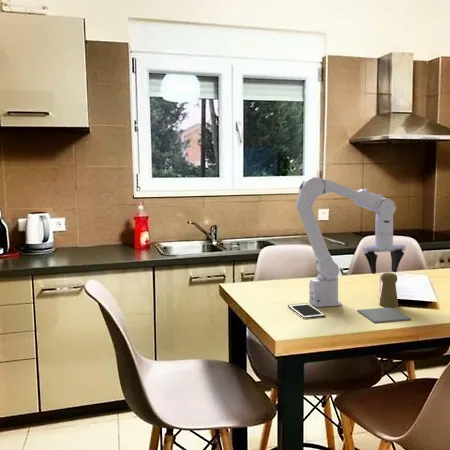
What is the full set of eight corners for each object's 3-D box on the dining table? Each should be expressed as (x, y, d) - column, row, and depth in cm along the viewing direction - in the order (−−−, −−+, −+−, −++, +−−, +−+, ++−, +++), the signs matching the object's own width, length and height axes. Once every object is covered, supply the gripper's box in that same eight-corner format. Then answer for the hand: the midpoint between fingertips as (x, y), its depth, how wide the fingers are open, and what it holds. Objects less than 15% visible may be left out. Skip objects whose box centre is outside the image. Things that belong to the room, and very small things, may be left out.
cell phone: (308, 305, 164) (308, 302, 164) (326, 318, 150) (326, 315, 150) (286, 307, 163) (286, 304, 162) (303, 320, 148) (303, 317, 148)
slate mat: (373, 323, 143) (374, 321, 143) (357, 311, 155) (357, 309, 155) (411, 319, 145) (411, 318, 144) (391, 308, 156) (391, 307, 156)
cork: (383, 301, 165) (383, 270, 163) (400, 304, 161) (401, 272, 160) (376, 305, 160) (376, 273, 159) (394, 308, 156) (394, 276, 155)
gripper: (369, 235, 156) (369, 276, 158) (410, 233, 158) (409, 273, 160) (360, 233, 163) (359, 271, 165) (399, 231, 165) (398, 269, 167)
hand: (383, 272), depth 163 cm, fingers open, 7 cm apart
